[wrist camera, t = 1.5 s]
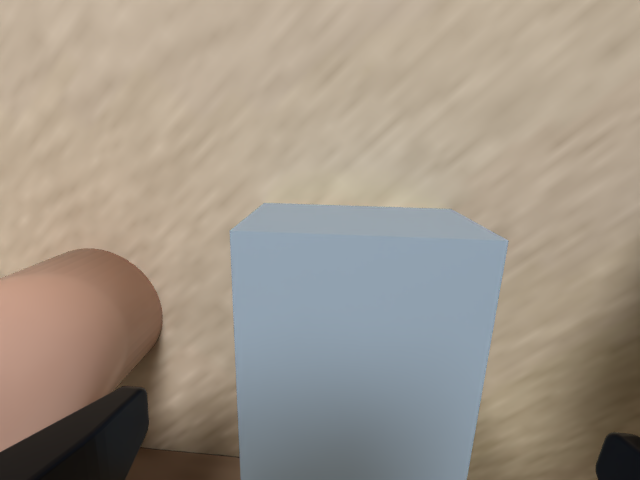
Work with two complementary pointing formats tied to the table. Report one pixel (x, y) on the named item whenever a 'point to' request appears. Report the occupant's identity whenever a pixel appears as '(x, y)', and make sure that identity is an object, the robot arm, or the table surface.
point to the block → (361, 340)
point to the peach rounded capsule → (70, 336)
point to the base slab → (182, 466)
